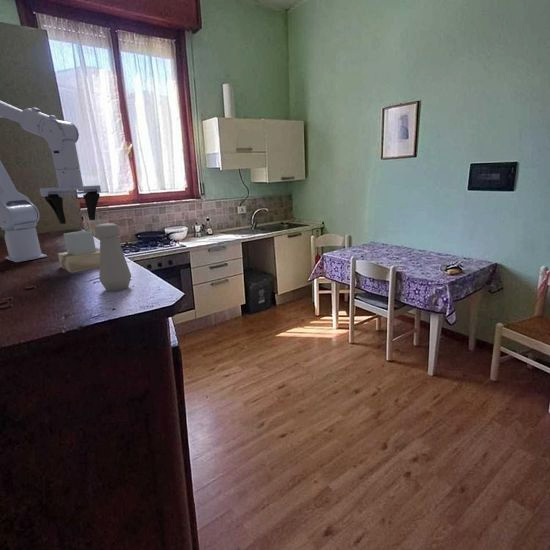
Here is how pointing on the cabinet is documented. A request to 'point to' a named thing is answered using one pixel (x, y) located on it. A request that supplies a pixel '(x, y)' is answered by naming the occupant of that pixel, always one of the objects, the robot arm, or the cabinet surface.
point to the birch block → (79, 261)
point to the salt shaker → (112, 259)
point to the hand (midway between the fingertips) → (78, 221)
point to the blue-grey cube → (79, 242)
